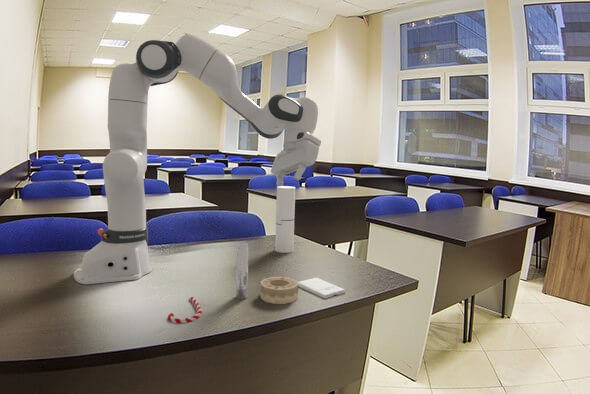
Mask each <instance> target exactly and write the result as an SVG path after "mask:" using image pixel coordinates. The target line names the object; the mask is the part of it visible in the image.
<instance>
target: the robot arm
mask: <svg viewBox="0 0 590 394" xmlns="http://www.w3.org/2000/svg"><path fill="white" fill-rule="evenodd" d="M135 61H136V62H134V63H128V62H127V63H120V64H118V65H115V66H114V68H113V69H112V71H111V76H110V79H109V80H110V81H109V86H108V96H107V99H108V100H107V131H108V138H109V153H108V154H106V156H105V157H104V159H103V162H102V172H103V183H104V190H105V196H106V202H107V203H106V204H107V226H108V227H107V228H106V229H103V228H98V230H97V235H99V236H100V237H101V241H100V242H99V243H97V244H96V245H95V246H93V247H92V248H91V249H89V250H88V251H87V252H85V254H84V255H83V257H82V260H81V261H82V262H81V268H77V269H76V270H75V271H74V272H73V279H74V281H75V282H77V283H79V284H82V285H93V284H94V285H95V284H102V283H104V284H105V283H114V282H124V281H134V280H135V281H136V280H139V279H140V278H142V277H143V276H145V275H147V274H149V273H151V272H152V270H153V267H152V263H151V260H150V255H149V250H148V245H149V244H148V243H149V229H148V226H147V204H146V203H147V202H146V195H145V183H144V182H145V181H144V176H145V174H146V172H147V167H148V135H147V134H148V133H147V127H148V105H149V104H148V101H149V97H148V96H149V90H150V87H154V86H159V85H164V84H168V83H170V82H172V81H173V80H175V78H176V76H177V75H178V73H179V72H185V73H187V74H189V75H192V76H193V77H195V78H197V80H199V81H200V82H202V83H203V84H205V85H206V86H207V87H209V88H210V89H211V90H212V91H214V93H215V94H216V95H217V96H218V98H219V99H220V100H222V102H223V103H225V104H226V105H227V106H228V107H230V109H232V110H233V111H235V112H236V113H237V114H238V115H239V116H241V117H242V118H243V119H244V120H246V121H247V122H248V123H249V124H250V125H251V126H252V127H253V129H254V130H255V131H256V133H257V134H258V135H260V136H261V137H263V138H265V139H269V140H271V139H272V140H273V139H276V138H278V137H279V136H280V135H282V133H283V131H284V130H285V131H286V133H285V137H284V139H283V140H284V141H283V145H282V147H283V148H284V149H283V150H281V151H280V152H278V153H277V154H276V156H275V157H274V160H273V163H272V166H271V169H270V173H271V175H273V176H276V186H277V187H278V186H284V182H285V180H284V177H285V176H286V175H288V174H291V173H293V172H294V174H293V180H295V181H300V180H301V179H302V175H303V174H304V173H305V171H306V169H307V167H311V166H313V165H315V163H316V162H317V159H318V155H319V150H320V146H321V145H322V140H321V139H319V138H318V137H316V136H315V135H314V132H315V130H316V127H317V122H318V117H319V107H318V105H317V102H315V101H314V100H313V99H311V98H310V97H306V96H300V97H296V98H295V97H289V96H287V95H285V94H281V93H279V94H275V95H273V96H271V97H270V99H269V100H268V101H267V103H265V105H264V107H260V106H259V105H257V103H255V102H254V101H253V100H252V99H251V98H249V97H248V96H247V95H246V94H245V93H243V92H242V91H241V89H240V86H239V84H238V83H239V82H238V71H237V70H238V69H237V66H236V64H235V62H234V61H233V59H232V58H231V57H230V56H229V55H227V54H226V53H225V52H223V50H221V49H219V48H218V47H216V46H215V45H213V44H211V43H210V42H208V41H206V40H204V39H202V38H200V37H198V36H196V35H193V34H189V33H188V34H184V35H182V36H181V37H179V39H178V40H177V41H176V43H175V42H174V41H168V40H167V41H165V40H159V39H151V40H147V41H145V42H142V44H141V45H140V46H139V47H138V48H137V51H136V54H135Z"/></svg>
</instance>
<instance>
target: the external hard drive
mask: <svg viewBox="0 0 590 394" xmlns="http://www.w3.org/2000/svg"><path fill="white" fill-rule="evenodd" d="M297 282H298V288H301V289H303V290H305V291H307V292H310V293H312V294H314V295H315V296H318V297H320V298H322V299H324V298H325V299H328V297H329V298H332V297H335V296H339V295H342V294H346V289H345V288H343V287H339V286H337V285H335V284H332V283H331V282H328V281H326V280H323V279H321V278H319V277H313V278H309V279H304V280H299V281H297ZM334 295H335V296H334Z"/></svg>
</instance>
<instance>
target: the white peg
mask: <svg viewBox="0 0 590 394" xmlns="http://www.w3.org/2000/svg"><path fill="white" fill-rule="evenodd" d="M235 248H236V250H235V251H236V252H235V253H236V254H235V257H236V259H235V260H236V261H235V262H236V263H235V266H236V267H235V298H236V299H238V300H245V299H246V300H247V298H248V296H249V295H248V293H249V291H248V289H249V287H248V286H249V285H248V284H249V283H248V282H249V281H248V280H249V244H248V243H247V242H246V241H239V242H238V243H237V244H236V247H235Z"/></svg>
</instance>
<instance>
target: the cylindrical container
mask: <svg viewBox="0 0 590 394" xmlns="http://www.w3.org/2000/svg"><path fill="white" fill-rule="evenodd" d="M275 203H276V206H275V207H276V208H275V209H276V211H275V243H274V244H275V246H274V251H275V252H277V253H282V254H285V253H286V254H289V253H293V252H294V245H295V244H294V240H295V213H296V212H295V210H296V208H295V207H296V205H295V204H296V186H289V185H282V186H278V185H277V186H276V202H275Z"/></svg>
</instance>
